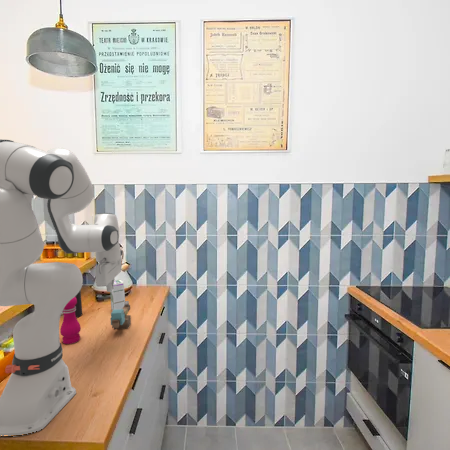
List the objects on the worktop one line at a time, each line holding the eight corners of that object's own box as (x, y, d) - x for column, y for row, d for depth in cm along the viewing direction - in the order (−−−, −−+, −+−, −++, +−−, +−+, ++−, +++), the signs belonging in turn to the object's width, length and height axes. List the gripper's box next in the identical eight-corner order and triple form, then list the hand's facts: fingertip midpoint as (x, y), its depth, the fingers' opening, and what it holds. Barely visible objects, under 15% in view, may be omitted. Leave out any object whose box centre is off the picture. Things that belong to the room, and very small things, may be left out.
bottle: (85, 315, 150) (82, 274, 147) (70, 320, 145) (67, 277, 142) (78, 311, 154) (75, 271, 152) (64, 316, 149) (60, 275, 147)
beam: (123, 337, 127) (122, 318, 126) (108, 337, 127) (107, 318, 126) (134, 316, 147) (133, 300, 146) (121, 317, 147) (120, 300, 146)
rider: (122, 324, 129) (121, 313, 128) (110, 325, 128) (110, 313, 128) (124, 320, 132) (124, 309, 132) (113, 321, 132) (113, 309, 132)
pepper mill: (73, 345, 121) (69, 295, 118) (56, 344, 122) (52, 294, 120) (85, 336, 128) (81, 289, 125) (69, 335, 129) (65, 288, 127)
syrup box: (126, 310, 155) (124, 281, 153) (113, 313, 151) (112, 284, 150) (122, 307, 159) (121, 279, 158) (110, 309, 156) (108, 281, 154)
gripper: (108, 261, 110) (110, 299, 111) (123, 249, 130) (125, 282, 132) (89, 262, 109) (92, 300, 111) (108, 250, 130) (110, 282, 131)
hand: (110, 290), depth 122 cm, fingers closed
